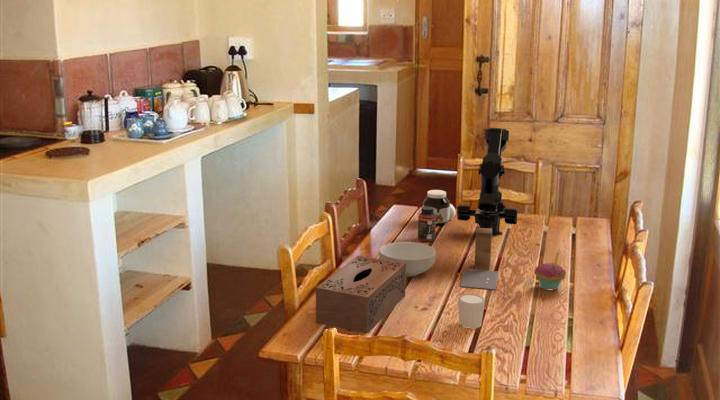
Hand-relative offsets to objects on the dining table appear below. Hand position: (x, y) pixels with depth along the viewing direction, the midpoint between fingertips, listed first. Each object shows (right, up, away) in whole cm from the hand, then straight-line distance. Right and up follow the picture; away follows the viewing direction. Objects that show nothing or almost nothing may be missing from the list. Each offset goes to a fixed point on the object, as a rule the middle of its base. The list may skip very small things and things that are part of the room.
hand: (484, 238), depth 231 cm
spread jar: (-10, +4, +42) cm, 43 cm away
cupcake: (+16, -13, -17) cm, 27 cm away
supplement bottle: (-16, -2, +23) cm, 28 cm away
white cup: (-11, -20, -41) cm, 47 cm away
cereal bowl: (-25, -10, -6) cm, 27 cm away
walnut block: (-1, -9, -2) cm, 9 cm away
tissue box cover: (-38, -18, -32) cm, 53 cm away
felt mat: (-3, -12, -12) cm, 17 cm away
